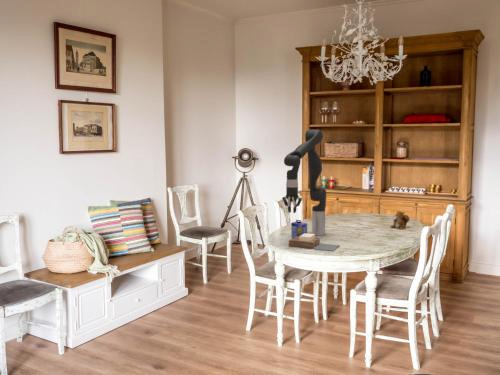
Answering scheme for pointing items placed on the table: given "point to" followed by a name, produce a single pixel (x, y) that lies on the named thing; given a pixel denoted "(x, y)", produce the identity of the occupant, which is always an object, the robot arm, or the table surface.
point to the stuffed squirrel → (400, 220)
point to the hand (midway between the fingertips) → (292, 212)
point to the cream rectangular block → (307, 237)
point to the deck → (303, 243)
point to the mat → (326, 247)
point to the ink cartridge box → (298, 228)
